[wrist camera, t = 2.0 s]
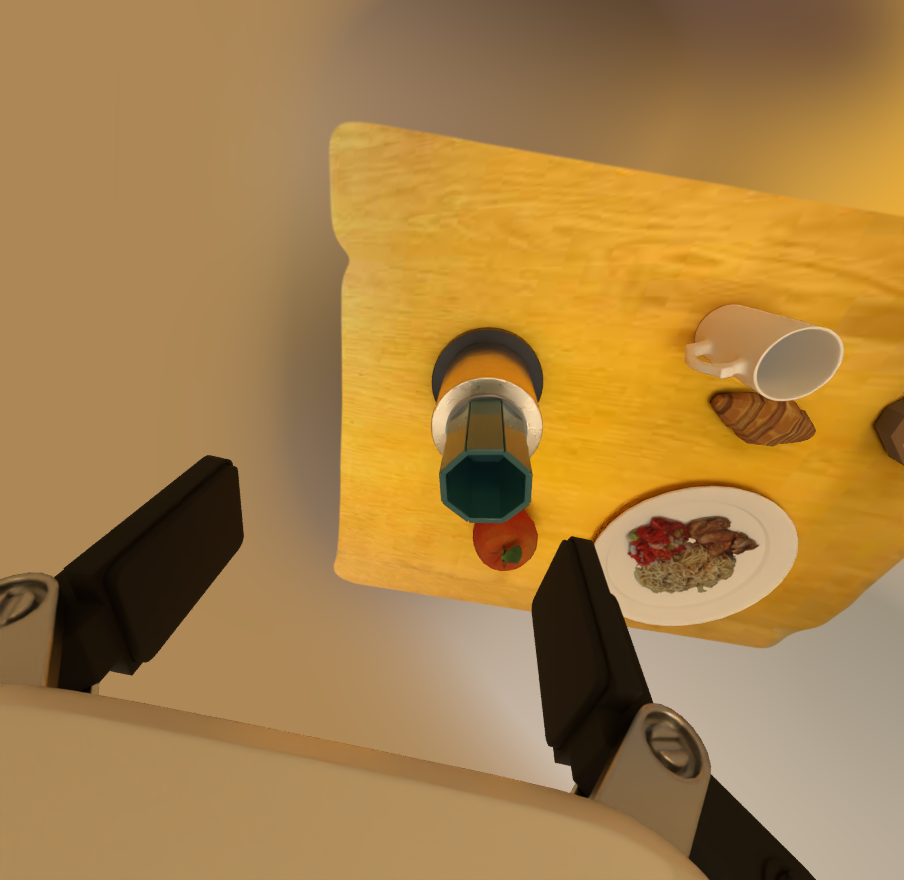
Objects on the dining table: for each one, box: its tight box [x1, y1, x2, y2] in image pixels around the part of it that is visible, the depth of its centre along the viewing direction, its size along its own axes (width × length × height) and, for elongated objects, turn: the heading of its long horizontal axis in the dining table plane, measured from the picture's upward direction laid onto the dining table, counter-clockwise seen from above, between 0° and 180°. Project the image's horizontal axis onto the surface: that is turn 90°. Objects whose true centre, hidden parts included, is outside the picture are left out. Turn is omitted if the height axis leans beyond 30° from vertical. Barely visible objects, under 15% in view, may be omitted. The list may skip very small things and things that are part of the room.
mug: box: [685, 304, 844, 401], centre depth 38 cm, size 10×7×12 cm, turn 104°
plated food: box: [594, 486, 798, 626], centre depth 59 cm, size 30×30×3 cm
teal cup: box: [439, 400, 533, 523], centre depth 33 cm, size 7×7×9 cm
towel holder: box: [431, 328, 543, 457], centre depth 43 cm, size 14×14×14 cm
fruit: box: [473, 510, 538, 571], centre depth 55 cm, size 10×10×10 cm
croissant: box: [710, 393, 816, 446], centre depth 46 cm, size 14×7×5 cm, turn 72°
